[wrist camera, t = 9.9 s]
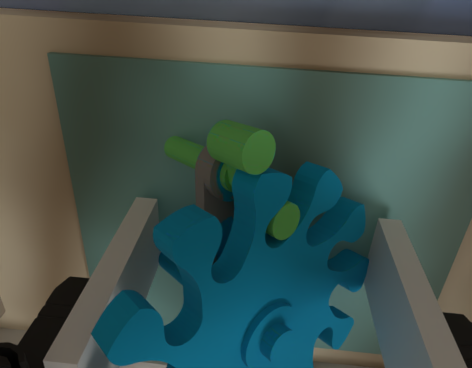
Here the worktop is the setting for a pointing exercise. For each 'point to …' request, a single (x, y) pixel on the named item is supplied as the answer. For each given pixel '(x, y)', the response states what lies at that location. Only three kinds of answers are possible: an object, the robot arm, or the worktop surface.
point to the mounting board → (196, 130)
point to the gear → (244, 263)
